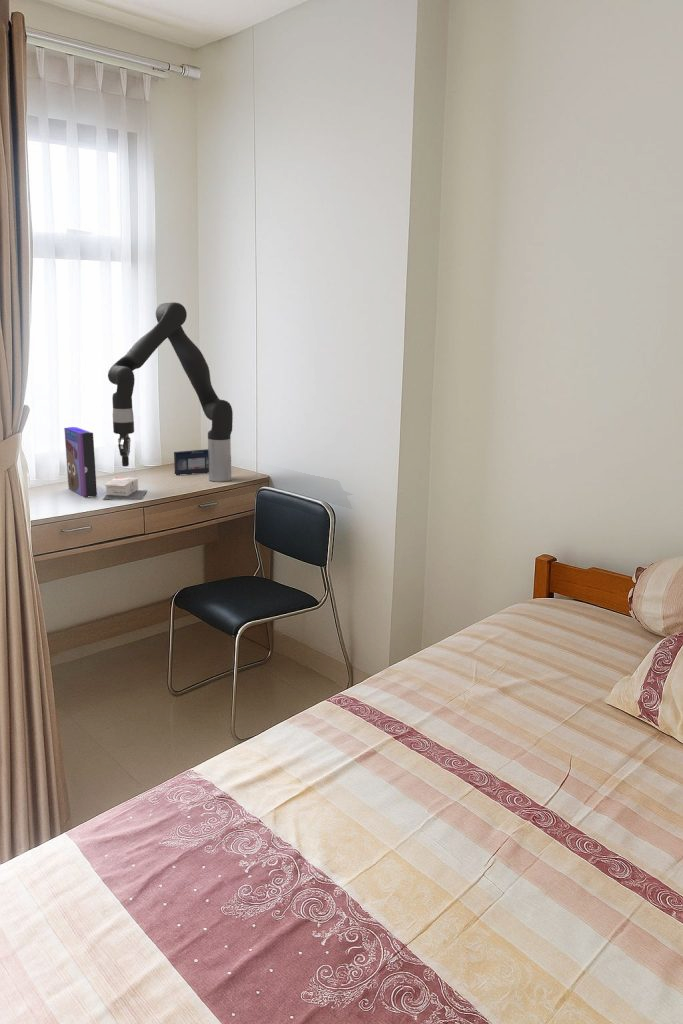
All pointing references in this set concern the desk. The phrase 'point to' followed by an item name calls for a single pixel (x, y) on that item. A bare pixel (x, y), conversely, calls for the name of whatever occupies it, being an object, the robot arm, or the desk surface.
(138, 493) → the mat
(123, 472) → the desk surface
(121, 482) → the ink cartridge box
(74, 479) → the cereal box
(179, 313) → the robot arm
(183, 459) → the vhs cassette tape
